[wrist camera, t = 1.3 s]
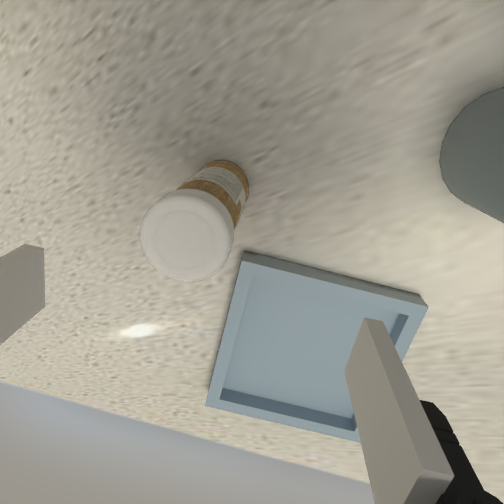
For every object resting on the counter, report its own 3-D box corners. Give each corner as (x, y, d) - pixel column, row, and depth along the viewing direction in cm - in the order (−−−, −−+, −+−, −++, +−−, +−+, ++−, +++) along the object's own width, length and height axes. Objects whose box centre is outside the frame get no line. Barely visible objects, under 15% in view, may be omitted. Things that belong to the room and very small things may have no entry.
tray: (243, 250, 32) (241, 260, 30) (419, 294, 33) (428, 307, 31) (208, 389, 38) (204, 405, 36) (357, 425, 39) (362, 443, 37)
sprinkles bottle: (225, 224, 31) (191, 301, 19) (184, 189, 31) (118, 245, 18) (261, 184, 30) (249, 240, 18) (218, 146, 29) (174, 175, 17)
